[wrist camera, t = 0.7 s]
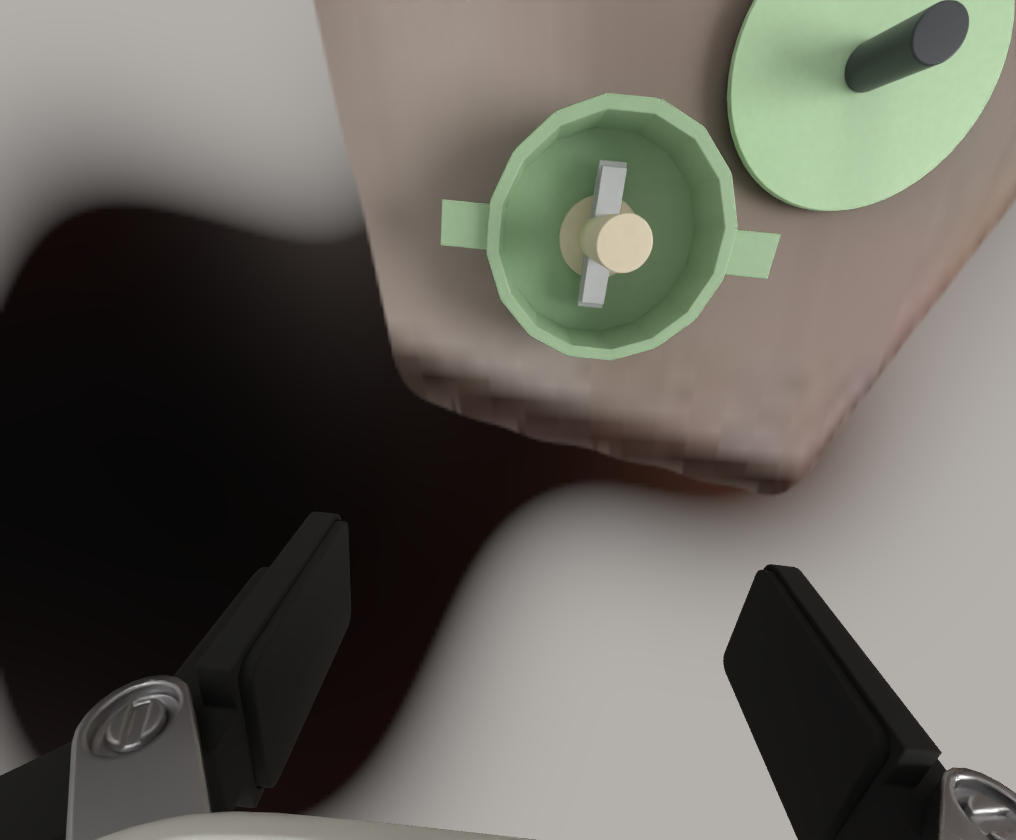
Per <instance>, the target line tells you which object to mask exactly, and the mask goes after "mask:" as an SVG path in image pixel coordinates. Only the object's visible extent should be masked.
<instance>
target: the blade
mask: <svg viewBox="0 0 1016 840" xmlns="http://www.w3.org/2000/svg"><path fill="white" fill-rule="evenodd" d="M626 165H627V162H619V161H609V160H599V163H598V169H597V176H596V182H595V189H594V195H592V196H588V197H586V198H584V199H582V200H580V201H579V202H577V203H576V204H575V205H574V206H573V207H572V208H571V209H570V210H569V211H568V212H567V214H566V215H565V217H564V219H563V221H562V224H561V227H560V231H559V247H560V251H561V254H562V257H563V259H564V260H565V262H566V264H567V265H568V266H569V267H570V268H571V269H572V270H573V271H574V272H576V273H577V274H579V275H581V282H580V288H579V295H578V302H577V305H578V306H583V307H593V308H602V305H603V304H604V299H605V293H606V288H607V282H608V277H609V276H612V275H614V274H616V273H628V272H631V271H634V270H636V269H637V268H639V267H640V266H641V265H642V264H643V263H644V262H645V261H646V260H647V258H648V257H649V255H650V252H651V250H652V245H653V235H652V231H651V229H650V227H649V225H648V223H647V222H646V221H645V220H644V219H643V218H641V217H640V216H638V215H636V214H634V212H633V210H632V209H631V208H630V206H629V205H628V204H627V203H626V202H624V201H623V200H622V195H623V190H624V184H625V178H626V172H627V168H626Z"/></svg>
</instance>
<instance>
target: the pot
mask: <svg viewBox="0 0 1016 840" xmlns="http://www.w3.org/2000/svg"><path fill="white" fill-rule="evenodd" d="M599 160H609V161H619V162H627V165H626V168H627V172H626V178H625V184H624V190H623V195H622V200H623V201H624V202H626V203H627V204H628V205H629V206H630V208H631V209H632V210H633V212H634V214H636V215H638V216H640V217H641V218H643V219H644V220H645V221H646V222H647V223H648V225H649V227H650V229H651V231H652V235H653V245H652V250H651V252H650V255H649V257H648V258H647V260H646V261H645V262H644V263H643V264H642V265H641V266H640V267H639V268H637V269H636V270H634V271H631V272H628V273H616V274H614V275H612V276H609V277H608V282H607V288H606V293H605V299H604V304H603V305H602V308H593V307H583V306H578V305H577V302H578V295H579V288H580V282H581V275H579V274H577V273H576V272H574V271H573V270H572V269H571V268H570V267H569V266H568V265H567V264H566V262H565V260H564V259H563V257H562V254H561V251H560V247H559V231H560V227H561V224H562V221H563V219H564V217H565V215H566V214H567V212H568V211H569V210H570V209H571V208H572V207H573V206H574V205H575V204H576V203H577V202H579V201H580V200H582V199H584V198H586V197H588V196H592V195H594V189H595V182H596V176H597V169H598V163H599ZM737 225H738V224H737V215H736V206H735V197H734V188H733V179H732V174H731V171H730V169H729V168H728V166H727V164H726V162H725V161H724V159H723V157H722V156H721V154H720V152H719V150H718V149H717V147H716V145H715V144H714V142H713V140H712V138H711V137H710V135H709V133H708V132H707V130H706V129H705V128H704V126H703V125H701V124H700V123H698V122H697V121H695V120H693V119H692V118H690V117H689V116H687V115H686V114H684V113H683V112H681V111H680V110H678V109H677V108H675V107H674V106H672V105H671V104H669V103H668V102H666V101H664V100H663V99H660V98H655V97H645V96H636V95H626V94H616V93H604V94H601V95H598V96H596V97H593V98H590V99H588V100H585V101H582V102H579V103H577V104H574V105H571V106H568V107H566V108H563V109H560V110H557V111H555V113H552V114H551V115H550V116H549V117H548V118H547V119H546V120H545V121H544V122H543V123H542V124H541V125H540V126H539V127H538V128H537V129H536V130H534V131H533V132H532V133H531V134H530V135H529V136H528V137H527V138H526V139H525V140H524V141H523V142H522V143H521V144H520V145H519V146H518V147H517V148H516V149H514V151H513V152H512V154H511V156H510V159H509V161H508V163H507V165H506V167H505V169H504V171H503V174H502V176H501V178H500V180H499V182H498V184H497V186H496V189H495V191H494V193H493V195H492V197H491V199H490V204H484V203H474V202H465V201H455V200H445V199H442V214H441V242H440V244H441V245H443V246H453V247H462V248H472V249H482V250H486V253H487V254H486V255H487V258H488V261H489V265H490V268H491V271H492V275H493V278H494V281H495V284H496V288H497V291H498V294H499V297H500V299H501V301H502V303H503V304H504V305H505V306H506V308H507V309H508V310H509V311H510V312H511V314H512V315H513V316H514V317H515V319H516V320H517V321H518V322H519V324H520V325H521V326H522V327H523V329H524V330H525V331H526V332H527V333H528V334H529V335H530V336H531V337H533V338H535V339H537V340H539V341H541V342H542V343H544V344H546V345H548V346H550V347H552V348H553V349H555V350H557V351H559V352H561V353H563V354H565V355H566V356H573V357H582V358H592V359H601V360H615V359H618V358H622V357H626V356H629V355H633V354H636V353H640V352H644V351H647V350H651V349H654V348H657V347H658V346H659V345H661V344H662V343H664V342H665V341H666V340H668V339H669V338H671V337H672V336H673V335H675V334H676V333H677V332H679V331H680V330H682V329H683V328H684V327H686V326H687V325H689V324H690V323H691V322H693V321H694V320H695V319H696V318H697V317H698V315H699V314H700V312H701V311H702V309H703V308H704V306H705V305H706V304H707V302H708V301H709V299H710V298H711V296H712V295H713V294H714V292H715V291H716V289H717V288H718V286H719V285H720V283H721V282H722V281H723V279H724V276H725V275H732V276H742V277H751V278H761V279H767V278H768V275H769V272H770V268H771V265H772V262H773V258H774V255H775V252H776V248H777V245H778V242H779V239H780V234H774V233H764V232H755V231H745V230H737Z"/></svg>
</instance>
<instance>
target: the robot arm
mask: <svg viewBox="0 0 1016 840" xmlns="http://www.w3.org/2000/svg"><path fill="white" fill-rule="evenodd" d="M349 567H350V566H349V538H348V524H347V522H344V521H341V518H340V516H339V515H338V514H331V513H323V512H312V513H311V514H310V515H309V516H308V518H307V519H306V520H305V522H304V523H303V524H302V525H301V527H300V528H299V529H298V531H297V532H296V533H295V535H294V536H293V537H292V538H291V540H290V541H289V542H288V544H287V545H286V546H285V548H284V549H283V550H282V552H281V553H280V554H279V556H278V557H277V558H276V560H275V561H274V562H273V563H272V565H271V566H270V567H269V568H268V567H263V568H261V569H259V570H258V571H257V572H256V573H255V574H254V575H253V576H252V577H251V579H250V580H249V581H248V583H247V584H246V585H245V586H244V588H243V589H242V590H241V592H240V593H239V594H238V595H237V597H236V598H235V599H234V600H233V602H232V603H231V604H230V605H229V607H228V608H227V609H226V611H225V612H224V613H223V614H222V616H221V617H220V618H219V619H218V621H217V622H216V623H215V624H214V626H213V627H212V628H211V629H210V631H209V632H208V633H207V635H206V636H205V637H204V638H203V640H202V641H201V642H200V643H199V645H198V646H197V647H196V648H195V650H194V651H193V652H192V653H191V655H190V656H189V657H188V659H187V660H186V661H185V662H184V664H183V665H182V666H181V667H180V669H179V670H178V671H177V673H176V674H175V675H174V676H173V677H172V676H167V675H162V676H150V677H147V678H143V679H140V680H136V681H133V682H131V683H129V684H127V685H125V686H123V687H121V688H119V689H117V690H115V691H113V692H112V693H111V694H109V695H108V696H106V697H105V698H104V699H102V700H101V701H99V702H98V703H97V704H96V705H95V706H94V707H93V708H92V709H91V710H90V711H89V712H88V713H87V714H86V715H85V717H84V718H83V720H82V721H81V723H80V724H79V726H78V727H77V729H76V731H75V734H74V738H73V741H72V742H70V743H68V744H66V745H64V746H62V747H60V748H58V749H56V750H53V751H51V752H49V753H47V754H45V755H43V756H41V757H39V758H36V759H35V760H32V761H30V762H28V763H26V764H24V765H22V766H20V767H18V768H16V769H13V770H12V771H10V772H7V773H5V774H3V775H1V776H0V840H534V839H525V838H516V837H508V836H499V835H490V834H480V833H471V832H462V831H453V830H444V829H435V828H426V827H417V826H408V825H399V824H390V823H381V822H372V821H361V820H349V819H339V818H327V817H315V816H305V815H294V814H283V813H258V812H233V811H234V809H235V807H236V806H242V807H250V808H256V806H257V804H258V802H259V800H260V797H261V795H262V793H263V791H264V789H265V787H269V788H272V787H274V786H275V784H276V783H277V781H278V779H279V777H280V775H281V773H282V770H283V768H284V766H285V764H286V762H287V759H288V757H289V755H290V753H291V751H292V748H293V746H294V744H295V742H296V740H297V737H298V735H299V733H300V731H301V729H302V727H303V724H304V722H305V720H306V718H307V716H308V713H309V711H310V709H311V707H312V705H313V702H314V700H315V698H316V696H317V693H318V691H319V689H320V687H321V685H322V683H323V680H324V678H325V676H326V674H327V672H328V669H329V667H330V665H331V663H332V661H333V658H334V656H335V654H336V652H337V650H338V647H339V645H340V643H341V641H342V639H343V636H344V634H345V632H346V630H347V627H348V624H349V621H350V616H351V595H350V568H349ZM723 662H724V669H725V672H726V675H727V677H728V679H729V681H730V684H731V686H732V688H733V690H734V693H735V695H736V698H737V700H738V702H739V704H740V707H741V709H742V712H743V714H744V716H745V718H746V721H747V723H748V725H749V728H750V729H751V732H752V735H753V737H754V739H755V742H756V744H757V746H758V749H759V751H760V753H761V755H762V758H763V760H764V762H765V765H766V767H767V769H768V772H769V774H770V776H771V778H772V781H773V783H774V785H775V788H776V790H777V792H778V795H779V797H780V799H781V802H782V804H783V806H784V808H785V811H786V813H787V816H788V818H789V820H790V822H791V825H792V827H793V829H794V832H795V834H796V836H797V838H798V840H1016V793H1014V792H1013V791H1012V790H1010V789H1009V788H1007V787H1006V786H1004V785H1003V784H1001V783H1000V782H998V781H996V780H994V779H992V778H990V777H988V776H986V775H984V774H982V773H980V772H976V771H973V770H970V769H967V768H951V769H949V770H947V771H946V769H945V768H944V767H943V765H942V764H941V763H940V761H939V760H938V759H937V758H938V757H939V756H940V754H941V751H940V750H939V749H938V747H937V746H936V745H935V743H934V742H933V741H932V740H931V738H930V737H929V736H928V734H927V733H926V732H925V731H924V729H923V728H922V727H921V726H920V724H919V723H918V722H917V720H916V719H915V718H914V716H913V715H912V714H911V713H910V711H909V710H908V709H907V707H906V706H905V705H904V704H903V702H902V701H901V700H900V698H899V697H898V696H897V695H896V693H895V692H894V691H893V689H892V688H891V687H890V685H889V684H888V683H887V682H886V681H885V679H884V678H883V677H882V675H881V674H880V673H879V671H878V670H877V669H876V667H875V666H874V665H873V664H872V662H871V661H870V660H869V658H868V657H867V656H866V655H865V653H864V652H863V651H862V649H861V648H860V647H859V645H858V644H857V643H856V642H855V640H854V639H853V638H852V636H851V635H850V634H849V633H848V631H847V630H846V629H845V627H844V626H843V625H842V624H841V622H840V621H839V620H838V618H837V617H836V616H835V614H834V613H833V612H832V611H831V610H830V608H829V607H828V605H827V604H826V603H825V602H824V600H823V599H822V598H821V596H820V595H819V594H818V593H817V591H816V590H815V589H814V587H813V586H812V585H811V584H810V582H809V581H808V580H807V578H806V577H805V576H804V575H803V573H802V572H801V571H800V570H799V569H798V568H795V567H788V566H780V565H772V564H770V565H767V566H766V567H765V568H764V569H763V570H759V571H758V572H757V573H756V575H755V578H754V581H753V583H752V585H751V588H750V591H749V593H748V595H747V598H746V601H745V603H744V606H743V608H742V610H741V613H740V615H739V618H738V621H737V623H736V626H735V628H734V631H733V633H732V636H731V638H730V641H729V643H728V646H727V648H726V651H725V653H724V660H723Z"/></svg>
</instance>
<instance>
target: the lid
mask: <svg viewBox="0 0 1016 840" xmlns="http://www.w3.org/2000/svg"><path fill="white" fill-rule="evenodd" d="M1013 21H1014V0H754V1H753V3H752V5H751V7H750V9H749V11H748V13H747V15H746V17H745V19H744V22H743V24H742V27H741V29H740V32H739V34H738V37H737V41H736V44H735V48H734V51H733V55H732V59H731V65H730V70H729V76H728V89H727V108H728V119H729V125H730V131H731V135H732V138H733V141H734V145H735V148H736V150H737V152H738V155H739V157H740V159H741V161H742V163H743V165H744V166H745V168H746V169H747V171H748V172H749V174H750V175H751V177H752V178H753V179H754V180H755V181H756V182H757V183H758V184H759V185H760V186H761V187H762V188H763V189H764V190H766V191H767V192H768V193H770V194H771V195H772V196H774V197H775V198H777V199H779V200H781V201H783V202H785V203H787V204H790V205H792V206H795V207H798V208H802V209H808V210H813V211H841V210H851V209H855V208H859V207H864V206H868V205H871V204H873V203H876V202H879V201H882V200H884V199H886V198H888V197H890V196H892V195H894V194H896V193H899V192H901V191H902V190H904V189H905V188H907V187H909V186H910V185H912V184H913V183H915V182H917V181H918V180H919V179H921V178H922V177H923V176H925V175H926V174H927V173H928V172H930V171H931V170H932V169H934V168H935V167H936V166H937V165H938V164H939V163H940V162H941V161H942V160H943V159H944V158H945V157H946V156H947V155H949V154H950V152H951V151H952V150H953V149H954V148H955V147H956V146H957V145H958V143H959V142H960V141H961V140H962V139H963V138H964V136H965V135H966V134H967V132H968V131H969V130H970V128H971V127H972V125H973V124H974V123H975V121H976V120H977V118H978V117H979V115H980V113H981V112H982V110H983V108H984V107H985V105H986V103H987V102H988V100H989V98H990V96H991V94H992V92H993V90H994V87H995V85H996V83H997V81H998V79H999V76H1000V73H1001V71H1002V68H1003V65H1004V62H1005V60H1006V56H1007V52H1008V48H1009V44H1010V40H1011V35H1012V28H1013Z"/></svg>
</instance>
